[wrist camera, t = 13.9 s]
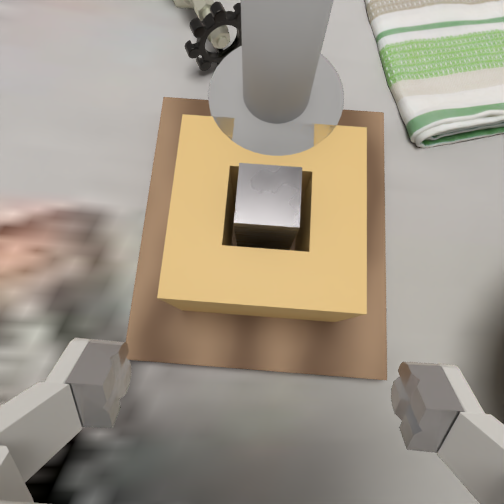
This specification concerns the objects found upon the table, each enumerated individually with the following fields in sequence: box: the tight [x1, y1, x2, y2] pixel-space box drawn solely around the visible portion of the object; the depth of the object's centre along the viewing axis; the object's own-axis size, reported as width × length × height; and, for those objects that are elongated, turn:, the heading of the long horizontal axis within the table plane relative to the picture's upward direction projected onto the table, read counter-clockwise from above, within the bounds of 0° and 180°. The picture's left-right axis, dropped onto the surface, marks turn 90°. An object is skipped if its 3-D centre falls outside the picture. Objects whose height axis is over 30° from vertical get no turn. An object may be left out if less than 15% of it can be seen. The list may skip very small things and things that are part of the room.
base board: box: [126, 97, 387, 380], centre depth 31 cm, size 20×23×2 cm
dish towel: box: [365, 0, 504, 148], centre depth 36 cm, size 17×23×4 cm
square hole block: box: [157, 0, 367, 322], centre depth 21 cm, size 12×18×20 cm, turn 176°
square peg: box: [234, 163, 302, 250], centre depth 25 cm, size 4×4×10 cm
